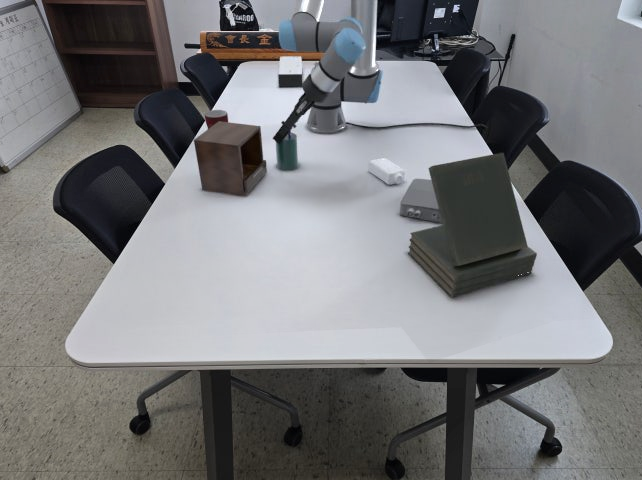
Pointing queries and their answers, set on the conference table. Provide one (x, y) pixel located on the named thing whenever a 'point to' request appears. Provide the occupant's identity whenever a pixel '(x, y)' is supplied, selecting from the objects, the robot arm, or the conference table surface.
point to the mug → (215, 117)
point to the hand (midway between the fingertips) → (276, 140)
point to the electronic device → (420, 201)
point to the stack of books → (473, 228)
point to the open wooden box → (227, 156)
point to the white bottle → (387, 171)
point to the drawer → (253, 174)
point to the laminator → (290, 71)
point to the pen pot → (287, 153)
